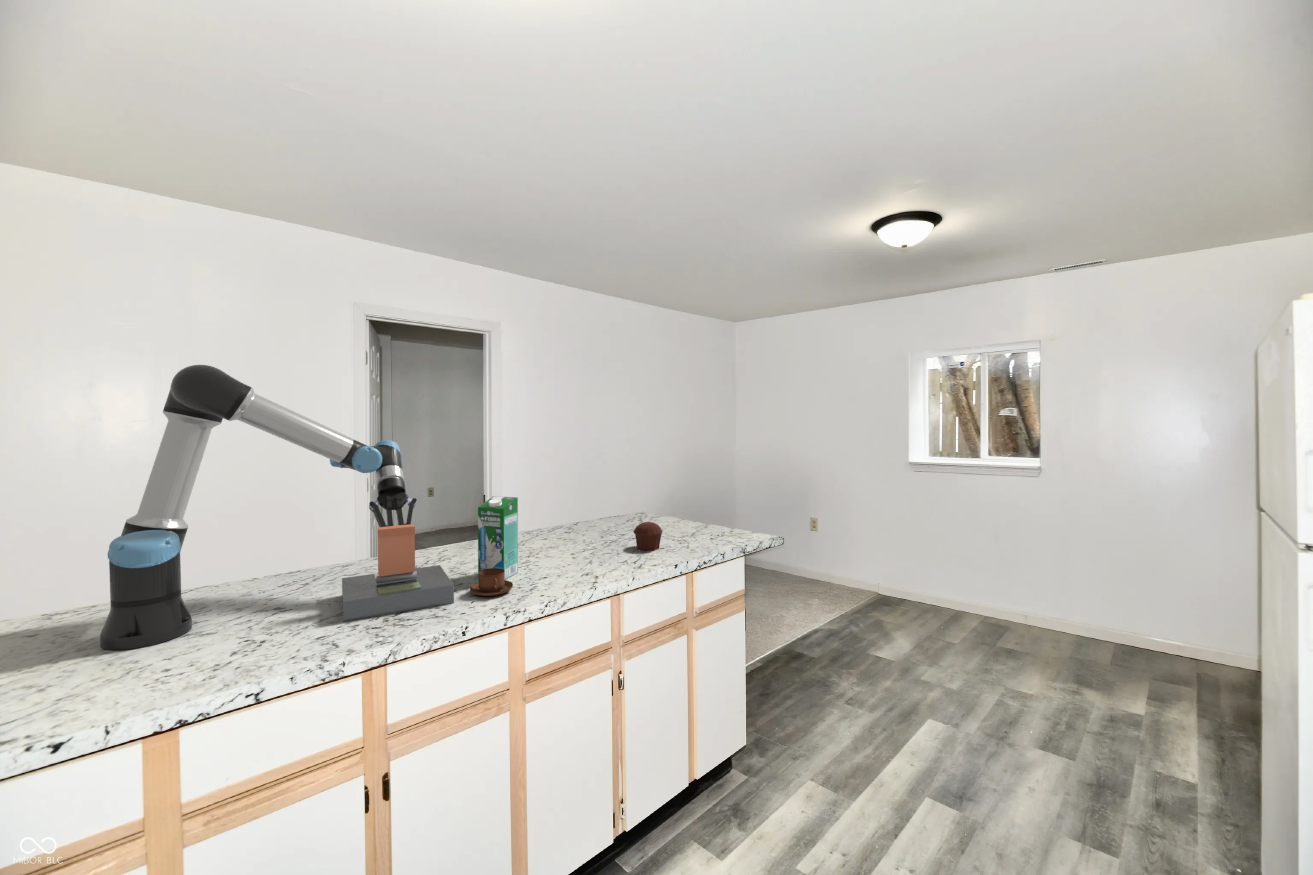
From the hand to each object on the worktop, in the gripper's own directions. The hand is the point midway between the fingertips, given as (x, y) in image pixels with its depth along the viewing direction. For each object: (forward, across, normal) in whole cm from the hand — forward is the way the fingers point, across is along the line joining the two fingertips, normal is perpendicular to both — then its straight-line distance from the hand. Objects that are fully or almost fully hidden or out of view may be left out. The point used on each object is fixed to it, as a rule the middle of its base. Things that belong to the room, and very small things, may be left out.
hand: (398, 549), depth 147 cm
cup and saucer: (+17, -23, -3) cm, 29 cm away
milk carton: (+6, -29, -13) cm, 33 cm away
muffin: (+3, -89, -18) cm, 91 cm away
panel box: (+11, +1, -8) cm, 14 cm away
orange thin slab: (+7, +1, -3) cm, 7 cm away
